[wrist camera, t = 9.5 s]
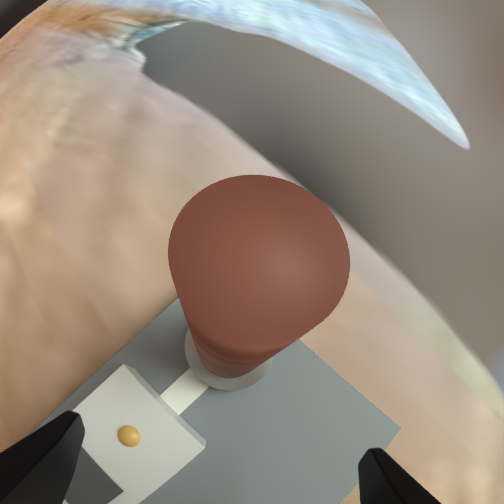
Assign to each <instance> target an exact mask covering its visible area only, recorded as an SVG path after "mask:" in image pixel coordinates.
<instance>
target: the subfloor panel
mask: <svg viewBox="0 0 504 504" xmlns="http://www.w3.org/2000/svg"><path fill="white" fill-rule="evenodd" d="M188 328H189V327H188V324H187V321H186V318H185V315H184V312H183V309H182V306H181V303H180V300H179V297H178V298H177V299H176V300H175V301H174V302H173V303H172V304H171V305H170V306H168V307H167V308H166V309H165V310H164V311H163V312H162V313H161V314H160V315H158V316H157V317H156V318H155V319H154V320H153V321H152V322H151V323H150V324H148V325H147V326H146V327H145V328H144V329H143V330H142V331H141V332H140V333H138V334H137V335H136V336H135V337H134V338H133V339H132V340H131V341H130V342H128V343H127V344H126V345H125V346H124V347H123V348H122V349H121V350H120V351H119V352H117V353H116V354H115V355H114V356H113V357H112V358H111V359H110V360H109V361H108V362H107V363H105V364H104V365H103V366H102V367H101V368H100V369H99V370H98V371H97V372H96V373H95V374H93V375H92V376H91V377H90V378H89V379H88V380H87V381H86V382H85V383H84V384H83V385H81V386H80V387H79V388H78V389H77V390H76V391H75V392H74V393H73V394H72V395H71V396H70V397H69V398H67V399H66V400H65V401H64V402H63V403H62V404H61V405H60V406H59V407H58V408H57V409H56V410H55V411H54V412H52V413H51V414H50V415H49V416H48V417H47V418H46V419H45V420H44V421H43V422H42V423H41V424H40V425H39V426H38V427H36V428H35V429H34V430H33V431H32V432H31V433H33V432H34V431H36V430H37V429H39V428H40V427H42V426H43V425H45V424H47V423H48V422H50V421H51V420H53V419H54V418H56V417H57V416H59V415H60V414H62V413H63V412H65V411H67V410H71V411H72V410H74V409H75V408H76V407H77V406H78V405H79V404H80V403H81V402H82V401H83V400H84V399H86V398H87V397H88V396H89V395H90V394H91V393H92V392H93V391H94V390H95V389H96V388H98V387H99V386H100V385H101V384H102V383H103V382H104V381H105V380H106V379H107V378H109V377H110V376H111V375H112V374H113V373H114V372H115V371H116V370H117V369H118V368H119V367H121V366H122V365H123V364H125V365H127V366H130V367H132V368H135V369H136V370H137V371H138V372H139V374H140V375H141V376H142V377H143V378H144V379H145V380H146V381H147V382H148V384H149V385H150V386H151V387H152V388H153V389H154V390H155V391H156V392H157V393H158V394H159V395H160V396H161V397H162V398H163V399H164V400H165V401H166V403H167V404H168V405H169V406H170V407H171V408H172V409H173V410H174V411H175V412H176V413H177V414H178V415H179V416H180V417H182V418H183V419H184V420H185V421H186V422H187V423H188V424H189V425H190V426H191V427H192V428H193V429H194V430H195V431H196V432H197V433H198V434H200V435H201V436H202V437H203V438H204V439H205V440H206V446H205V448H204V449H203V450H202V451H201V452H200V453H199V454H198V455H197V456H196V457H194V458H193V459H192V460H191V461H190V462H189V463H188V464H186V465H185V466H184V467H183V468H182V469H181V470H179V471H178V472H177V473H176V474H175V475H174V476H172V477H171V478H170V479H169V480H168V481H166V482H165V483H164V484H163V485H161V486H160V487H159V488H158V489H156V490H155V491H154V492H153V493H151V494H150V495H149V496H148V497H146V498H145V499H144V500H143V501H141V502H140V503H139V504H340V503H341V502H342V501H343V499H344V498H345V497H346V496H347V495H348V494H349V493H350V492H351V491H352V489H353V488H354V487H355V486H356V485H357V484H358V483H359V475H358V463H359V461H360V460H361V458H362V457H363V455H364V454H365V452H366V451H367V450H368V449H369V448H377V447H380V448H382V449H383V450H385V449H386V447H387V446H388V445H389V443H390V442H391V441H392V439H393V438H394V436H395V435H396V434H397V432H398V431H399V429H400V428H401V427H399V426H398V425H397V424H396V423H395V422H393V421H392V420H391V419H390V418H389V417H388V416H386V415H385V414H384V413H383V412H382V411H380V410H379V409H378V408H377V407H376V406H375V405H373V404H372V403H371V402H370V401H369V400H367V399H366V398H365V397H364V396H363V395H362V394H361V393H359V392H358V391H357V390H356V389H355V388H354V387H352V386H351V385H350V384H349V383H348V382H347V381H345V380H344V379H343V378H342V377H341V376H340V375H339V374H337V373H336V372H335V371H334V370H333V369H332V368H331V367H330V366H328V365H327V364H326V363H325V362H324V361H323V360H322V359H320V358H319V357H318V356H317V355H316V354H315V353H314V352H313V351H311V350H310V349H309V348H308V347H307V346H306V345H305V344H304V343H303V342H301V341H300V340H299V339H297V340H296V341H295V342H293V343H292V344H290V345H289V346H288V347H286V348H285V349H283V350H282V351H280V352H279V353H277V354H276V355H274V358H273V361H272V364H271V366H270V368H269V370H268V371H267V373H266V374H265V375H264V376H263V377H262V378H261V379H260V380H259V381H258V382H256V383H255V384H253V385H251V386H249V387H247V388H244V389H240V390H235V391H224V390H219V389H215V388H213V387H210V386H209V385H207V384H205V383H204V382H202V381H201V380H200V379H199V378H198V377H197V376H196V375H195V373H194V372H193V371H192V369H191V368H190V366H189V364H188V361H187V358H186V355H185V337H186V334H187V331H188ZM31 433H30V434H31ZM30 434H29V435H30Z"/></svg>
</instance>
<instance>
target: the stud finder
mask: <svg viewBox="0 0 504 504" xmlns="http://www.w3.org/2000/svg"><path fill="white" fill-rule="evenodd" d="M72 411H74V412H77V413H79V414H80V415H81V418H82V421H83V424H84V428H85V436H84V439H83V443H82V447H81V450H80V454H79V458H78V461H77V465H76V469H75V472H74V475H73V478H72V480H71V483H70V485H69V488H68V490H67V493H66V496H65V498H64V501H63V504H139V503H140V502H141V501H143V500H144V499H145V498H146V497H148V496H149V495H150V494H151V493H153V492H154V491H155V490H156V489H158V488H159V487H160V486H161V485H163V484H164V483H165V482H166V481H168V480H169V479H170V478H171V477H172V476H174V475H175V474H176V473H177V472H178V471H179V470H181V469H182V468H183V467H184V466H185V465H186V464H188V463H189V462H190V461H191V460H192V459H193V458H194V457H196V456H197V455H198V454H199V453H200V452H201V451H202V450H203V449H204V448H205V446H206V440H205V439H204V438H203V437H202V436H201V435H200V434H198V433H197V432H196V431H195V430H194V429H193V428H192V427H191V426H190V425H189V424H188V423H187V422H186V421H185V420H184V419H183V418H182V417H180V416H179V415H178V414H177V413H176V412H175V411H174V410H173V409H172V408H171V407H170V406H169V405H168V404H167V403H166V401H165V400H164V399H163V398H162V397H161V396H160V395H159V394H158V393H157V392H156V391H155V390H154V389H153V388H152V387H151V386H150V385H149V384H148V382H147V381H146V380H145V379H144V378H143V377H142V376H141V375H140V374H139V372H138V371H137V370H136V369H135V368H132V367H130V366H127V365H125V364H123V365H122V366H121V367H119V368H118V369H117V370H116V371H115V372H114V373H113V374H112V375H111V376H110V377H109V378H107V379H106V380H105V381H104V382H103V383H102V384H101V385H100V386H99V387H98V388H96V389H95V390H94V391H93V392H92V393H91V394H90V395H89V396H88V397H87V398H86V399H84V400H83V401H82V402H81V403H80V404H79V405H78V406H77V407H76V408H75V409H74V410H72Z"/></svg>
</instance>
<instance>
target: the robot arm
mask: <svg viewBox="0 0 504 504" xmlns="http://www.w3.org/2000/svg"><path fill="white" fill-rule="evenodd" d="M84 436H85V428H84V424H83V421H82V418H81V415H80V414H79V413H77V412H74V411H71V410H67V411H65V412H63V413H62V414H60V415H59V416H57V417H56V418H54V419H53V420H51V421H50V422H48V423H47V424H45V425H43V426H42V427H40V428H39V429H37V430H36V431H34V432H33V433H31V434H30V435H28V436H26V437H25V438H23V439H22V440H20V441H19V442H17V443H15V444H14V445H12V446H11V447H9V448H7V449H6V450H4V451H3V452H1V453H0V504H63V501H64V498H65V496H66V493H67V490H68V488H69V485H70V483H71V480H72V478H73V475H74V472H75V469H76V465H77V461H78V458H79V454H80V450H81V447H82V443H83V439H84ZM358 475H359V489H360V502H361V504H441V503H440V502H439V501H438V500H437V499H436V498H435V497H433V496H432V495H431V494H430V493H429V492H428V491H427V490H426V489H425V488H423V487H422V486H421V485H420V484H419V483H418V482H417V481H416V480H415V479H414V478H413V477H412V476H410V475H409V474H408V473H407V472H406V471H405V470H404V469H403V468H402V467H401V466H400V465H399V464H398V463H397V462H396V461H394V460H393V459H392V458H391V457H390V456H389V455H388V454H387V453H386V452H385V451H384V450H383V449H382V448H380V447H377V448H369V449H368V450H367V451H366V452H365V454H364V455H363V457H362V458H361V460H360V461H359V463H358Z"/></svg>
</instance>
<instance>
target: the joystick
mask: <svg viewBox="0 0 504 504" xmlns="http://www.w3.org/2000/svg"><path fill="white" fill-rule="evenodd" d="M168 259H169V267H170V271H171V275H172V279H173V282H174V285H175V288H176V291H177V294H178V297H179V300H180V303H181V306H182V309H183V312H184V315H185V318H186V321H187V324H188V327H189V328H188V331H187V334H186V337H185V355H186V358H187V361H188V364H189V366H190V368H191V369H192V371H193V372H194V373H195V375H196V376H197V377H198V378H199V379H200V380H201V381H202V382H204V383H205V384H207V385H209V386H210V387H213V388H215V389H219V390H224V391H235V390H240V389H244V388H247V387H249V386H251V385H253V384H255V383H256V382H258V381H259V380H260V379H261V378H262V377H263V376H264V375H265V374H266V373H267V371H268V370H269V368H270V366H271V364H272V361H273V358H274V355H276V354H277V353H279V352H280V351H282V350H283V349H285V348H286V347H288V346H289V345H290V344H292V343H293V342H295V341H296V340H297V339H299V338H300V337H302V336H303V335H304V334H306V333H307V332H309V331H310V330H311V329H313V328H314V327H316V326H317V325H318V324H320V323H321V322H322V321H323V320H324V319H325V318H326V317H328V316H329V315H330V314H331V312H332V311H333V310H334V309H335V307H336V306H337V305H338V303H339V301H340V299H341V298H342V296H343V294H344V291H345V289H346V286H347V282H348V278H349V271H350V255H349V249H348V244H347V241H346V238H345V235H344V232H343V230H342V228H341V226H340V224H339V222H338V221H337V219H336V218H335V216H334V215H333V214H332V212H331V211H330V210H329V209H328V207H327V206H326V205H325V204H323V202H321V201H320V200H319V199H318V198H317V197H316V196H314V195H313V194H312V193H310V192H309V191H307V190H305V189H304V188H302V187H300V186H298V185H296V184H294V183H292V182H289V181H286V180H283V179H280V178H276V177H271V176H264V175H242V176H236V177H230V178H227V179H224V180H221V181H218V182H216V183H214V184H211V185H210V186H208V187H206V188H204V189H203V190H201V191H200V192H199V193H197V194H196V195H195V196H194V197H193V198H192V199H191V200H190V201H189V202H188V203H187V204H186V205H185V206H184V207H183V209H182V210H181V211H180V213H179V215H178V217H177V218H176V220H175V222H174V225H173V228H172V230H171V234H170V239H169V246H168Z"/></svg>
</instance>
